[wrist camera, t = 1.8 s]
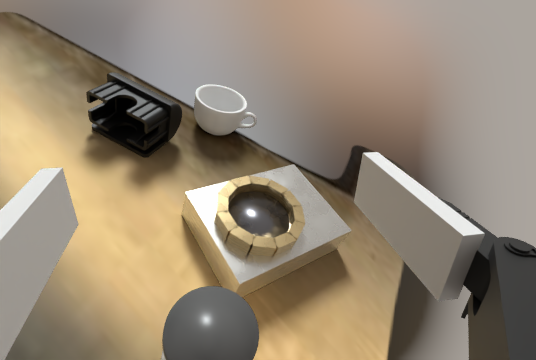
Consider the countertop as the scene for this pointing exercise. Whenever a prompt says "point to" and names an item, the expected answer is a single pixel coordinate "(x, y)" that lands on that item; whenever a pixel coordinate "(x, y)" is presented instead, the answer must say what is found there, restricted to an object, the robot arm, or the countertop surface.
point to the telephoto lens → (210, 327)
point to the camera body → (261, 227)
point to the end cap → (133, 115)
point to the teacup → (220, 109)
